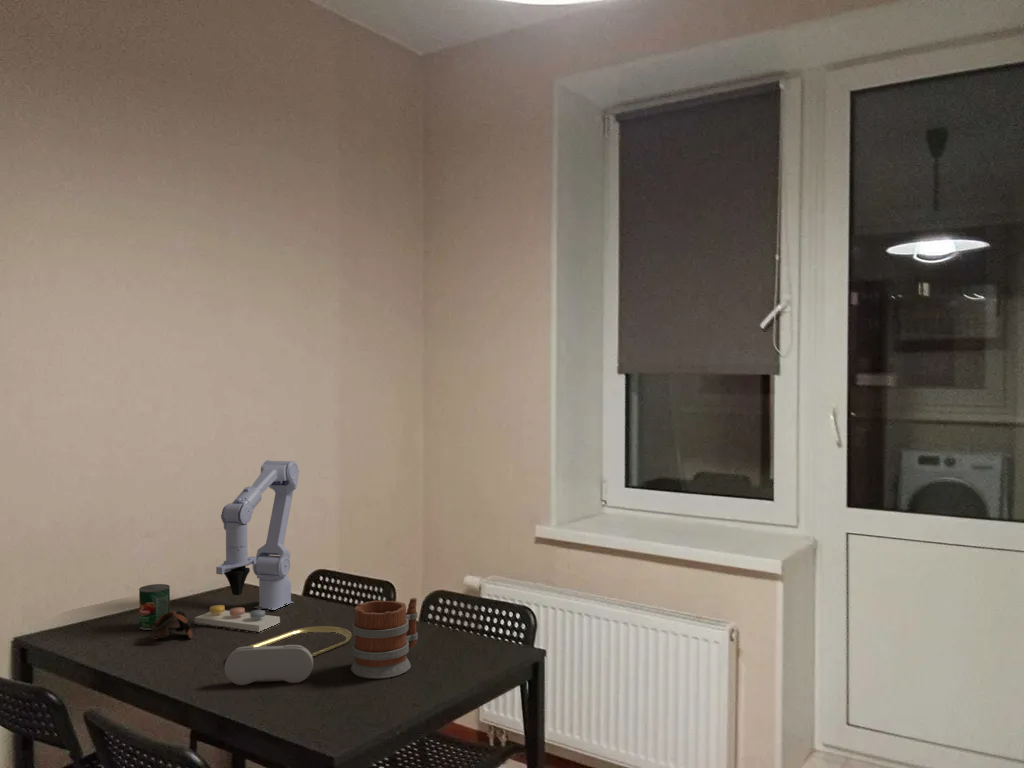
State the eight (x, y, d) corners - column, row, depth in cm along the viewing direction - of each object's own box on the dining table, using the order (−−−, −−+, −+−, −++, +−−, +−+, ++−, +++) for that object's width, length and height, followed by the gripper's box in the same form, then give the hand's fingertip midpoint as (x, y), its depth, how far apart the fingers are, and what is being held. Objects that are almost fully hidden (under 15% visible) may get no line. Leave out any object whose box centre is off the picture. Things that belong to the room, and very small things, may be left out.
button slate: (256, 613, 237) (256, 609, 237) (268, 614, 235) (268, 610, 235) (247, 617, 233) (247, 612, 233) (259, 618, 232) (258, 614, 232)
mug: (338, 671, 198) (337, 608, 198) (395, 649, 214) (394, 590, 214) (381, 684, 190) (380, 617, 190) (437, 660, 206) (437, 599, 206)
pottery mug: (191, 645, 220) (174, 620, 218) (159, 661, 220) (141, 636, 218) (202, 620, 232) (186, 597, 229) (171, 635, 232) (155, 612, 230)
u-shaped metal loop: (211, 665, 204) (211, 658, 204) (314, 628, 234) (314, 622, 234) (266, 679, 195) (265, 672, 195) (366, 638, 225) (366, 632, 225)
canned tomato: (175, 623, 238) (175, 584, 238) (161, 631, 231) (160, 591, 230) (148, 622, 239) (148, 583, 239) (133, 630, 231) (133, 590, 231)
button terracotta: (236, 610, 239) (236, 606, 239) (247, 612, 238) (247, 608, 238) (226, 614, 236) (226, 610, 236) (238, 616, 234) (238, 611, 234)
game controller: (313, 679, 194) (313, 643, 194) (312, 682, 192) (312, 646, 192) (226, 682, 192) (226, 646, 192) (224, 686, 190) (224, 649, 190)
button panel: (216, 616, 245) (216, 609, 245) (279, 623, 237) (279, 616, 237) (194, 624, 237) (194, 617, 237) (259, 632, 229) (259, 625, 229)
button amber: (216, 608, 242) (216, 604, 242) (227, 609, 241) (227, 605, 241) (206, 612, 238) (206, 608, 238) (218, 613, 237) (217, 609, 237)
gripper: (242, 540, 245) (242, 587, 245) (207, 550, 231) (207, 599, 232) (262, 542, 242) (262, 589, 242) (227, 552, 229) (228, 602, 229)
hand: (237, 594), depth 237 cm, fingers closed
